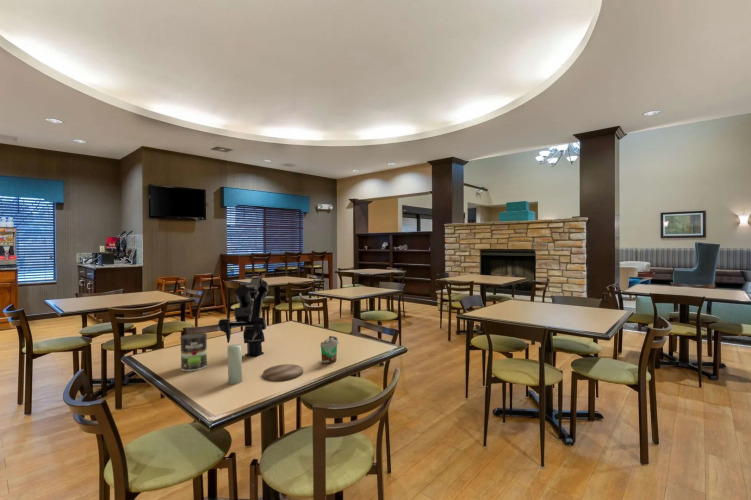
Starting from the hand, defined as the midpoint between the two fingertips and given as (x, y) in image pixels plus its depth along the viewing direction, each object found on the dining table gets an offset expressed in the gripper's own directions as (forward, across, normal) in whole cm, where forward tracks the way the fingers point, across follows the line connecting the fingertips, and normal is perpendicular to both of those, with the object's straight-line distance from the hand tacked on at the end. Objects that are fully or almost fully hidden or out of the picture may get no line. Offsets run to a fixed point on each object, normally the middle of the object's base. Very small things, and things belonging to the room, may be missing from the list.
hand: (239, 341), depth 148 cm
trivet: (+11, +18, +8) cm, 22 cm away
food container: (+2, +38, +17) cm, 41 cm away
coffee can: (+1, -22, +19) cm, 29 cm away
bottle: (+15, 0, +4) cm, 16 cm away
